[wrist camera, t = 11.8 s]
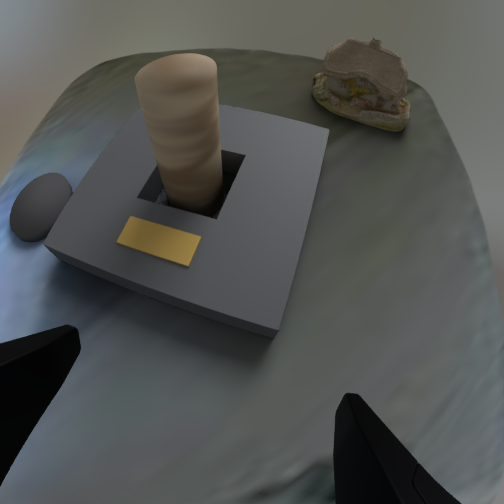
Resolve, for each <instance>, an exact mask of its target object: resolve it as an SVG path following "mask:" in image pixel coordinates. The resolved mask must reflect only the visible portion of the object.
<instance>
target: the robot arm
mask: <svg viewBox="0 0 504 504" xmlns="http://www.w3.org/2000/svg"><path fill="white" fill-rule="evenodd" d="M80 350H81V344H80V338H79V332H78V329H77V328H76V327H73V326H71V325H64V326H60V327H57V328H53V329H50V330H46V331H43V332H39V333H36V334H32V335H29V336H25V337H22V338H18V339H15V340H11V341H8V342H4V343H1V344H0V486H1V484H2V482H3V480H4V478H5V477H6V475H7V473H8V471H9V470H10V467H11V466H12V464H13V462H14V460H15V459H16V457H17V455H18V454H19V452H20V450H21V449H22V447H23V445H24V444H25V442H26V440H27V439H28V437H29V435H30V434H31V432H32V431H33V429H34V427H35V426H36V424H37V423H38V421H39V419H40V418H41V416H42V415H43V413H44V412H45V410H46V409H47V407H48V406H49V404H50V403H51V401H52V400H53V398H54V397H55V395H56V394H57V392H58V391H59V389H60V388H61V386H62V384H63V383H64V381H65V379H66V377H67V375H68V374H69V372H70V370H71V368H72V366H73V364H74V362H75V361H76V359H77V357H78V355H79V353H80ZM333 462H334V480H335V503H336V504H461V503H460V502H459V501H458V500H457V499H455V498H454V497H453V496H452V495H451V494H450V493H449V492H447V491H446V490H445V489H444V488H443V487H442V486H441V485H440V484H439V483H438V482H437V481H435V480H434V479H433V477H432V476H431V475H430V474H429V473H428V472H427V471H426V470H425V469H424V468H423V467H422V466H421V464H420V463H418V461H417V460H416V459H415V458H414V457H413V456H412V454H411V453H410V452H409V451H408V450H407V449H406V448H405V447H404V445H403V444H402V443H401V442H400V441H399V440H398V439H397V438H396V436H395V435H394V434H393V433H392V432H391V431H390V430H389V428H388V427H387V426H386V425H385V424H384V423H383V422H382V420H381V419H380V418H379V417H378V416H377V415H376V414H375V412H374V411H373V410H372V409H371V408H370V407H369V406H368V404H367V403H366V402H365V401H364V400H363V399H362V398H361V396H360V395H359V394H355V393H346V394H345V395H344V396H343V398H342V400H341V402H340V404H339V406H338V408H337V411H336V414H335V432H334V450H333Z"/></svg>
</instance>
